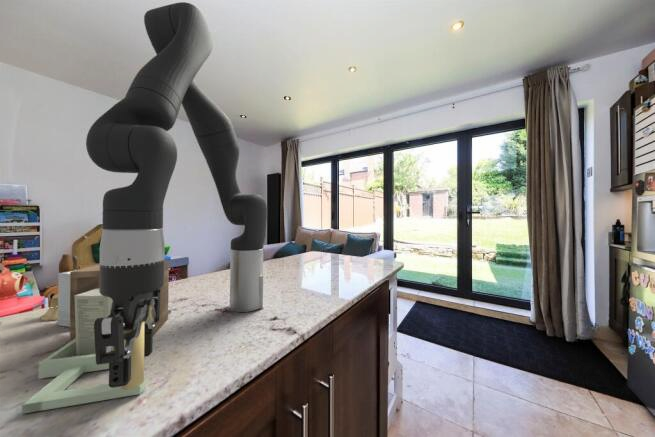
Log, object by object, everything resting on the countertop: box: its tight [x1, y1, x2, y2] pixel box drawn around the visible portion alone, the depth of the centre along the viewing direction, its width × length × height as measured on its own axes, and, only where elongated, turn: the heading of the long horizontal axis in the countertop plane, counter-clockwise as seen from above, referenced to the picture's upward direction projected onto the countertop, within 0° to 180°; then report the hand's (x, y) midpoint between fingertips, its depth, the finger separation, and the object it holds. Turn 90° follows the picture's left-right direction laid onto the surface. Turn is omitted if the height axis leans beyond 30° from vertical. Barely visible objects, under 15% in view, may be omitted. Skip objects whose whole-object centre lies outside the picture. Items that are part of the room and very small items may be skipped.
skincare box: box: [75, 289, 113, 356], centre depth 45 cm, size 6×4×12 cm
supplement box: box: [57, 270, 73, 328], centre depth 59 cm, size 7×7×13 cm
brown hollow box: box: [69, 259, 170, 342], centre depth 54 cm, size 14×10×15 cm
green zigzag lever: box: [21, 322, 147, 414], centre depth 41 cm, size 17×18×10 cm
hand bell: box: [40, 253, 74, 322], centre depth 63 cm, size 8×8×16 cm
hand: (133, 368), depth 36 cm, fingers open, 6 cm apart
